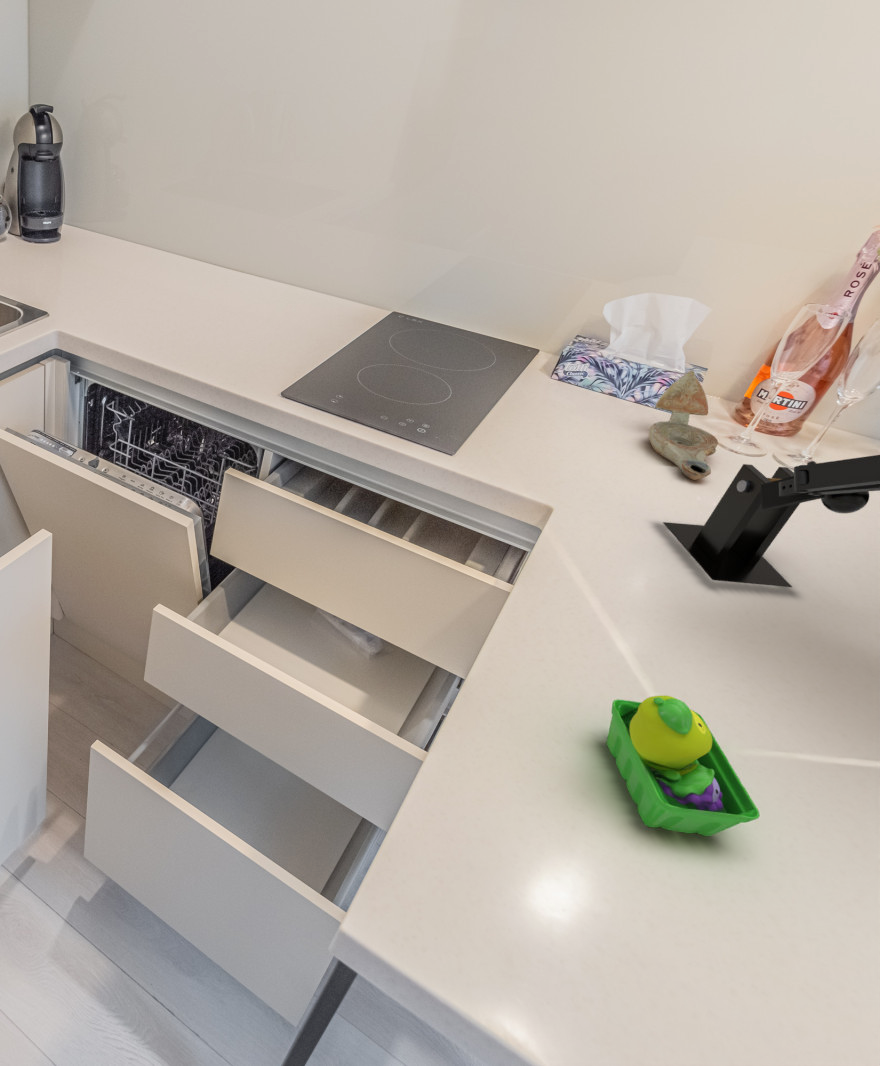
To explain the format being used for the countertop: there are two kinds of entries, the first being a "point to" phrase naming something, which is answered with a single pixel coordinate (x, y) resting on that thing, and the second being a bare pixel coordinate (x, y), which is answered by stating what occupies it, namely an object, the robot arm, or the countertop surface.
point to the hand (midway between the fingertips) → (832, 502)
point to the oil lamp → (684, 428)
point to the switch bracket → (738, 532)
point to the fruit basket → (676, 768)
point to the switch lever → (843, 501)
